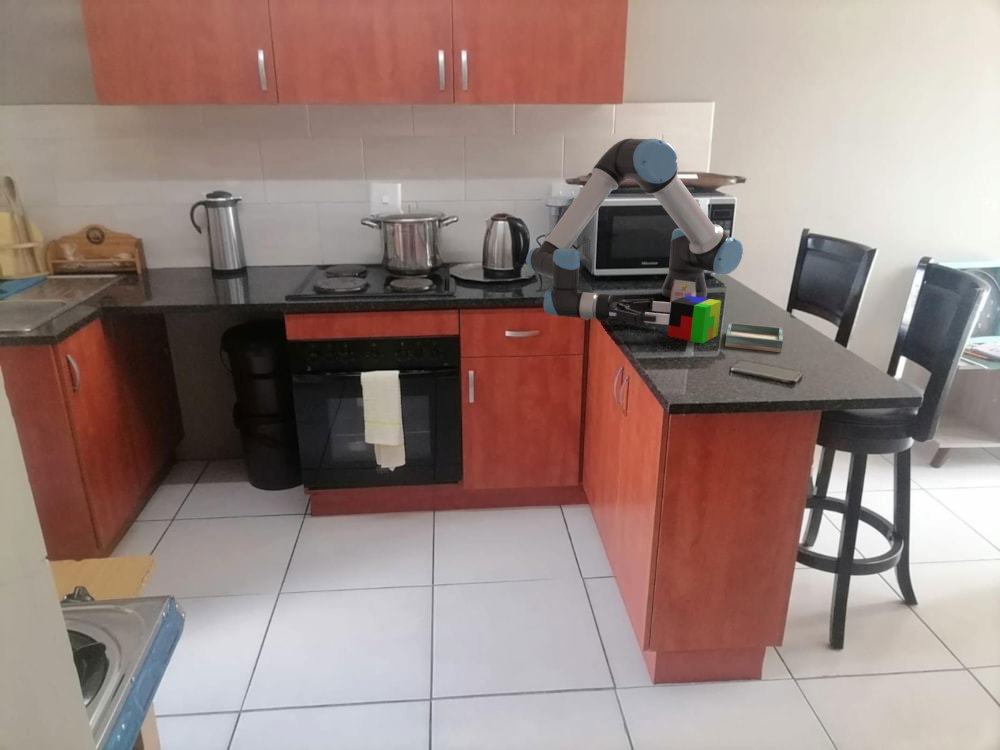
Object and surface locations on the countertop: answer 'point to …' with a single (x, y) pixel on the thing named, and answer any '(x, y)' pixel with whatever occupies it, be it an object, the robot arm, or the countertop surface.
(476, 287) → the countertop surface
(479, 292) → the countertop surface
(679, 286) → the tea bag
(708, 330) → the puzzle toy
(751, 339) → the shallow tray
